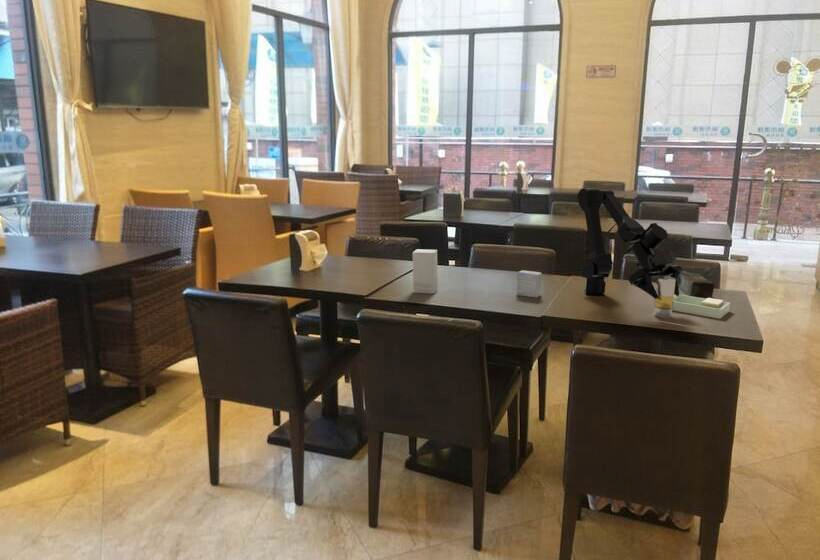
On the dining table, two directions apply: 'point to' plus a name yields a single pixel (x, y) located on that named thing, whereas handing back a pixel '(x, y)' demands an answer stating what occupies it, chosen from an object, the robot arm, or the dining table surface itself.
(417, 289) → the skincare box
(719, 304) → the butter box
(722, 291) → the dining table surface
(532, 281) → the medicine box
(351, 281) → the dining table surface
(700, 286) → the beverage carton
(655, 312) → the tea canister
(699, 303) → the tote
